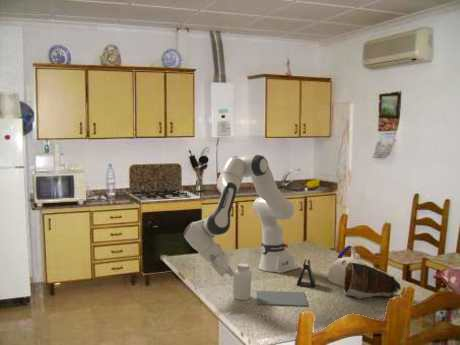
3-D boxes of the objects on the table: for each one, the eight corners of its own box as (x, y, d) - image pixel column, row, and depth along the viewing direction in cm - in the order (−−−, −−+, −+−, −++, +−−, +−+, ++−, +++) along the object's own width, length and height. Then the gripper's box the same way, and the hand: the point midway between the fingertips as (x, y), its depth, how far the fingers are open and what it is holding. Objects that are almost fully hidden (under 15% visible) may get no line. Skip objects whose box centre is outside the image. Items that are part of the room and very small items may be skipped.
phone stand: (315, 283, 230) (316, 260, 229) (314, 287, 224) (315, 263, 223) (297, 281, 232) (298, 258, 231) (296, 285, 226) (297, 261, 225)
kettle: (375, 280, 237) (377, 246, 236) (356, 290, 222) (357, 253, 220) (340, 271, 251) (341, 239, 249) (319, 280, 236) (321, 245, 234)
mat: (257, 304, 200) (257, 303, 200) (256, 291, 216) (256, 290, 216) (307, 306, 199) (308, 305, 199) (303, 293, 215) (303, 292, 215)
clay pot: (409, 276, 207) (354, 264, 207) (402, 309, 206) (347, 297, 206) (397, 270, 221) (346, 259, 222) (391, 301, 221) (340, 290, 221)
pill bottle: (231, 293, 212) (233, 262, 211) (249, 294, 213) (251, 262, 211) (233, 300, 204) (235, 267, 203) (251, 300, 205) (253, 268, 203)
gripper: (214, 254, 197) (237, 277, 197) (218, 242, 217) (238, 263, 218) (204, 264, 197) (226, 287, 198) (208, 251, 218) (229, 272, 218)
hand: (232, 274), depth 208 cm, fingers closed, pressing on pill bottle
